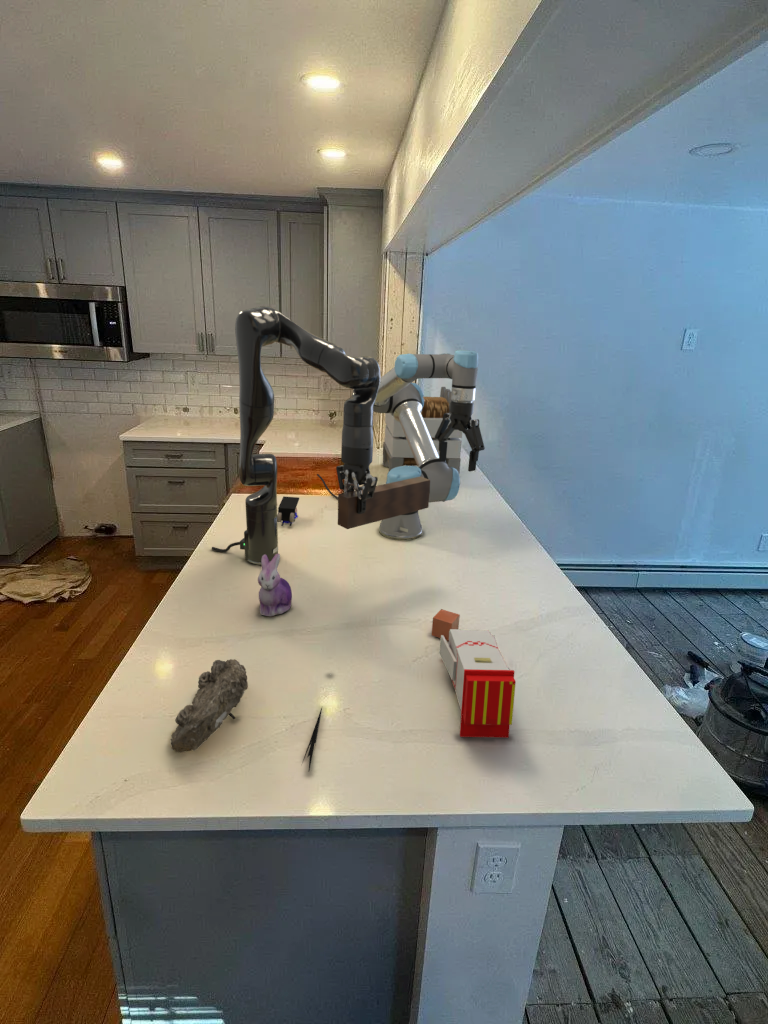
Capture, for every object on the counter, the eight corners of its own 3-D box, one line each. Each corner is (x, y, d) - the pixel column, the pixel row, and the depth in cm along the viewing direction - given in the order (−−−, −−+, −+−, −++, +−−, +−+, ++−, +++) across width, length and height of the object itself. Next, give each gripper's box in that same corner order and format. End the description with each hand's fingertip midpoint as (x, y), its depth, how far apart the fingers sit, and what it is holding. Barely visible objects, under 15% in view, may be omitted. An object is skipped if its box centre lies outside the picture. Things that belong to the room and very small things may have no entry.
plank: (347, 529, 138) (347, 498, 136) (337, 524, 141) (338, 494, 138) (428, 507, 156) (430, 479, 153) (418, 503, 159) (420, 476, 156)
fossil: (195, 660, 117) (247, 628, 112) (227, 691, 120) (279, 661, 115) (146, 746, 98) (206, 711, 93) (185, 779, 101) (245, 748, 96)
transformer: (381, 463, 289) (385, 382, 275) (444, 464, 292) (450, 384, 279) (389, 482, 257) (393, 392, 243) (459, 483, 261) (467, 394, 247)
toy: (489, 613, 130) (525, 677, 101) (485, 667, 133) (518, 744, 104) (437, 612, 130) (457, 676, 101) (434, 666, 133) (453, 743, 103)
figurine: (263, 621, 141) (261, 566, 136) (252, 602, 149) (250, 550, 144) (299, 613, 145) (298, 560, 140) (286, 596, 154) (285, 545, 148)
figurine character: (295, 532, 200) (300, 513, 214) (294, 513, 197) (299, 495, 210) (276, 531, 200) (282, 512, 213) (275, 512, 197) (281, 494, 210)
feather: (331, 679, 122) (336, 673, 122) (307, 777, 96) (313, 769, 95) (324, 675, 122) (329, 669, 121) (298, 772, 95) (304, 764, 95)
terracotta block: (431, 635, 139) (432, 617, 137) (439, 626, 143) (441, 608, 141) (450, 641, 136) (451, 623, 135) (458, 632, 140) (459, 614, 139)
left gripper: (327, 438, 138) (326, 505, 144) (363, 451, 128) (361, 522, 134) (351, 435, 142) (349, 500, 148) (388, 447, 132) (385, 516, 138)
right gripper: (427, 396, 187) (422, 458, 194) (483, 408, 169) (476, 476, 176) (443, 394, 191) (438, 456, 198) (500, 406, 173) (493, 473, 180)
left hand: (355, 510), depth 141 cm, fingers closed on plank, 4 cm apart
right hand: (456, 465), depth 187 cm, fingers open, 13 cm apart
